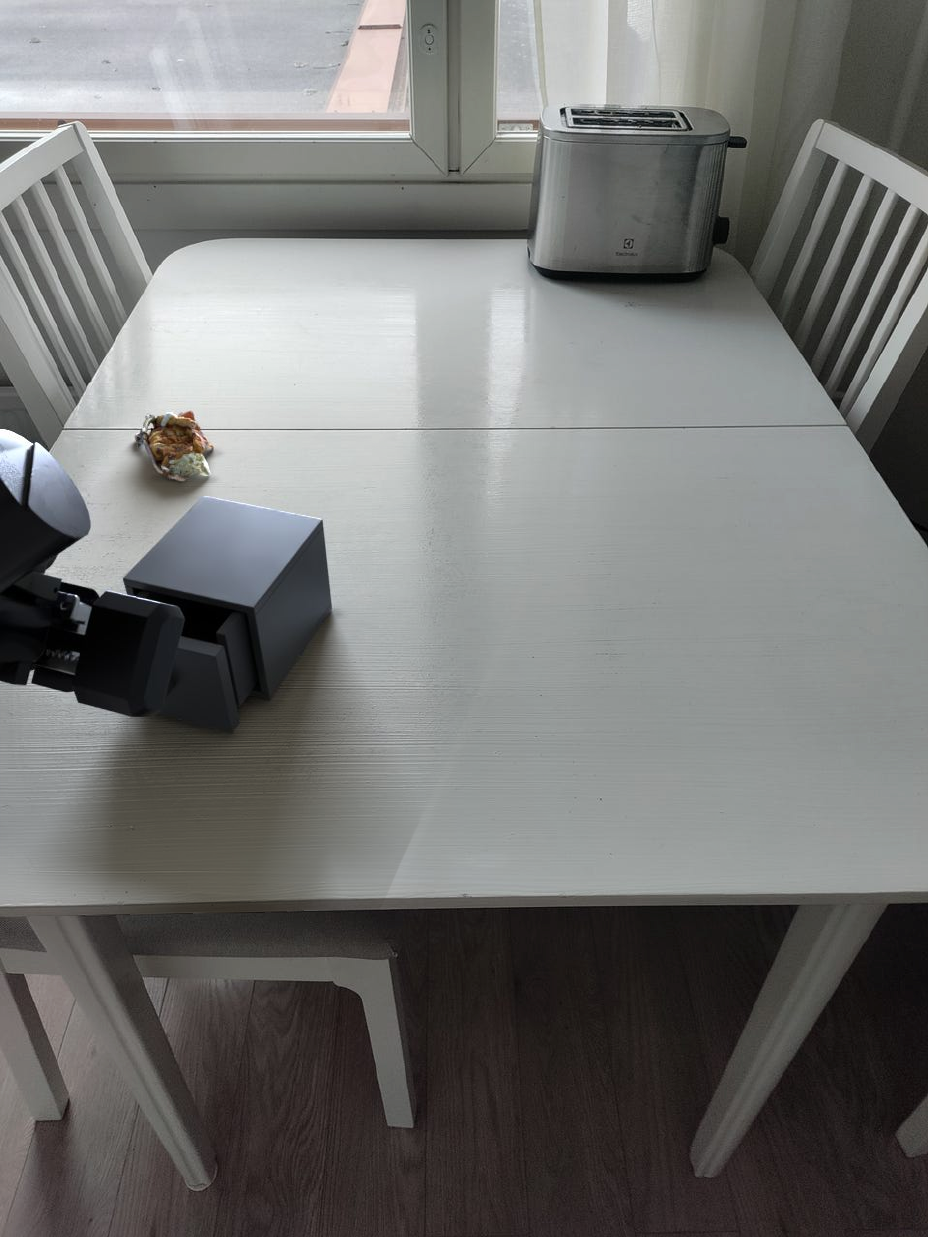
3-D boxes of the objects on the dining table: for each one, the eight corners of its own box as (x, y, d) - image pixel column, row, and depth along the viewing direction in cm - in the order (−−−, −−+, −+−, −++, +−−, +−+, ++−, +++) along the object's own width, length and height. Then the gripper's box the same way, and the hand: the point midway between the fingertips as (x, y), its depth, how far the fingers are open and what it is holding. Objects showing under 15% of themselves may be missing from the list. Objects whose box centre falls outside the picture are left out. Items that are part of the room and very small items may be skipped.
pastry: (167, 489, 98) (160, 458, 95) (131, 438, 105) (124, 409, 103) (232, 470, 100) (227, 440, 98) (193, 422, 108) (187, 393, 106)
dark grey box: (270, 700, 75) (253, 608, 69) (147, 670, 77) (121, 578, 71) (332, 608, 83) (323, 518, 77) (220, 584, 86) (203, 495, 80)
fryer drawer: (224, 745, 70) (206, 668, 65) (109, 715, 72) (84, 638, 67) (296, 641, 79) (286, 566, 74) (192, 616, 81) (175, 542, 76)
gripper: (125, 483, 44) (265, 545, 59) (-194, 419, 49) (12, 492, 64) (65, 718, 44) (222, 720, 59) (-253, 633, 48) (-30, 655, 63)
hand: (103, 639), depth 61 cm, fingers closed
